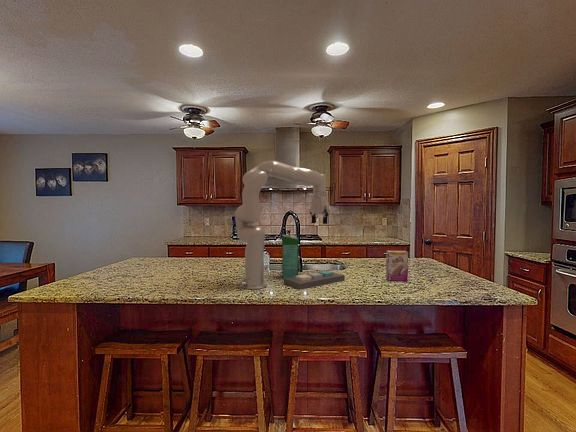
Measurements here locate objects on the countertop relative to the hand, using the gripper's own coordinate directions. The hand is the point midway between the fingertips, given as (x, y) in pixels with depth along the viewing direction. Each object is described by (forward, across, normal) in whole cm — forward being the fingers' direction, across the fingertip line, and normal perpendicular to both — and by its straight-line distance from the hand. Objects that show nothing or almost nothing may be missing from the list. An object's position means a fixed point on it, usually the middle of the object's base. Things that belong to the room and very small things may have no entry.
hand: (319, 223), depth 191 cm
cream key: (+29, +11, -22) cm, 38 cm away
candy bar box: (+31, +36, +25) cm, 54 cm away
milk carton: (+31, -6, -18) cm, 37 cm away
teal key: (+29, +12, -6) cm, 32 cm away
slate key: (+29, +12, -14) cm, 34 cm away
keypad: (+31, +12, -14) cm, 36 cm away
